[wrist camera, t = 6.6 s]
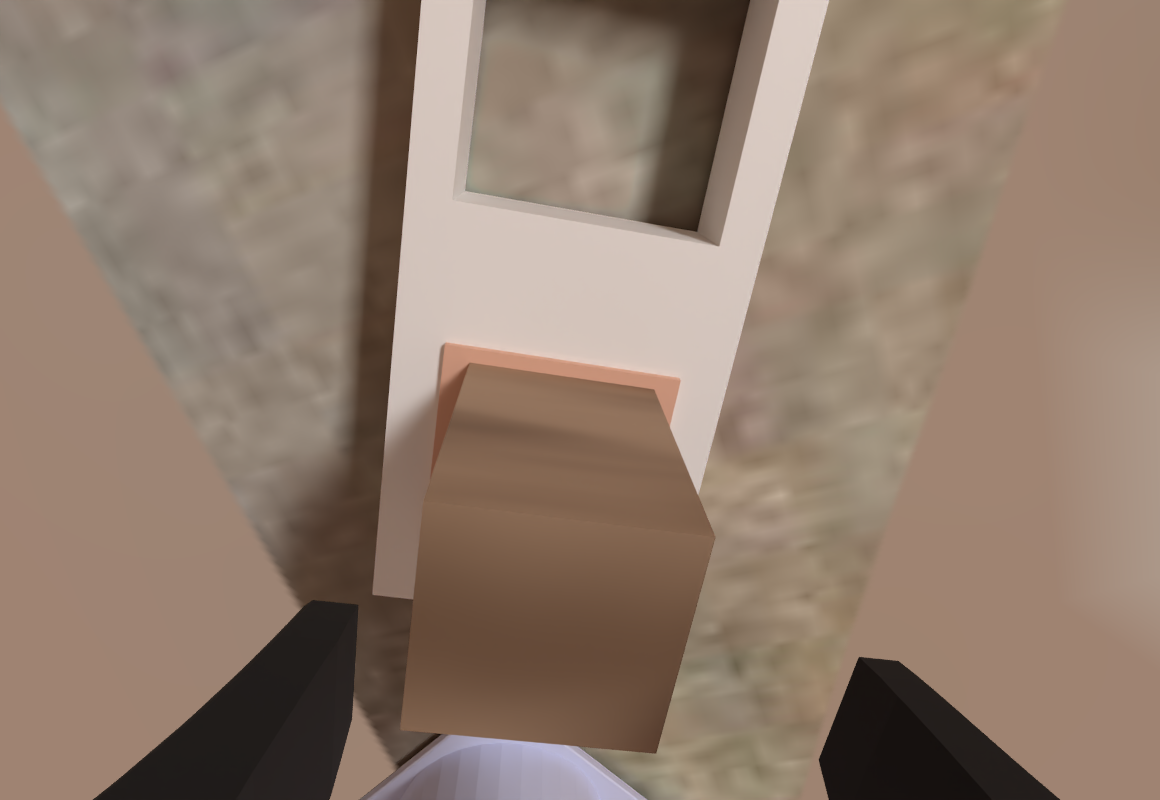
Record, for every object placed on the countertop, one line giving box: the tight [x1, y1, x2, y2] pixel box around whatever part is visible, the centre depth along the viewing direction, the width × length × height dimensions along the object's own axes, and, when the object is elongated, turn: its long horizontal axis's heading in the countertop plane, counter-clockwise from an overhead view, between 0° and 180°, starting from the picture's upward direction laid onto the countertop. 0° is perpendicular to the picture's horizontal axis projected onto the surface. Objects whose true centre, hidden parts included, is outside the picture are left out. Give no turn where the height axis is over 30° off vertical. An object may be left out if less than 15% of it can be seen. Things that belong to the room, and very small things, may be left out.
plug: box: [400, 363, 715, 753], centre depth 14 cm, size 4×4×6 cm
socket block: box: [372, 0, 829, 599], centre depth 17 cm, size 18×8×3 cm, turn 170°
